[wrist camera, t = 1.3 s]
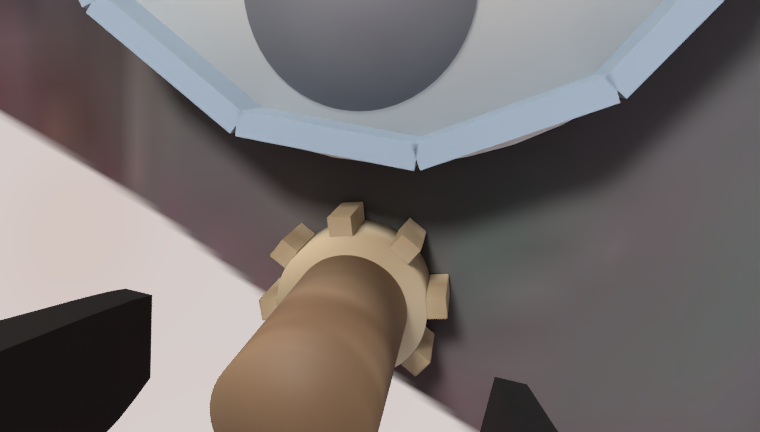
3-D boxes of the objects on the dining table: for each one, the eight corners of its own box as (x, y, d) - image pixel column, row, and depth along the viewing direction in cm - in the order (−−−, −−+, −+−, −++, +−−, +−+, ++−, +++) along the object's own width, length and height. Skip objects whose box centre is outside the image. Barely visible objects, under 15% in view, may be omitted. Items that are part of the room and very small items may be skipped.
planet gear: (487, 283, 14) (498, 433, 8) (374, 391, 15) (317, 581, 10) (347, 165, 13) (256, 233, 8) (248, 287, 15) (112, 419, 9)
